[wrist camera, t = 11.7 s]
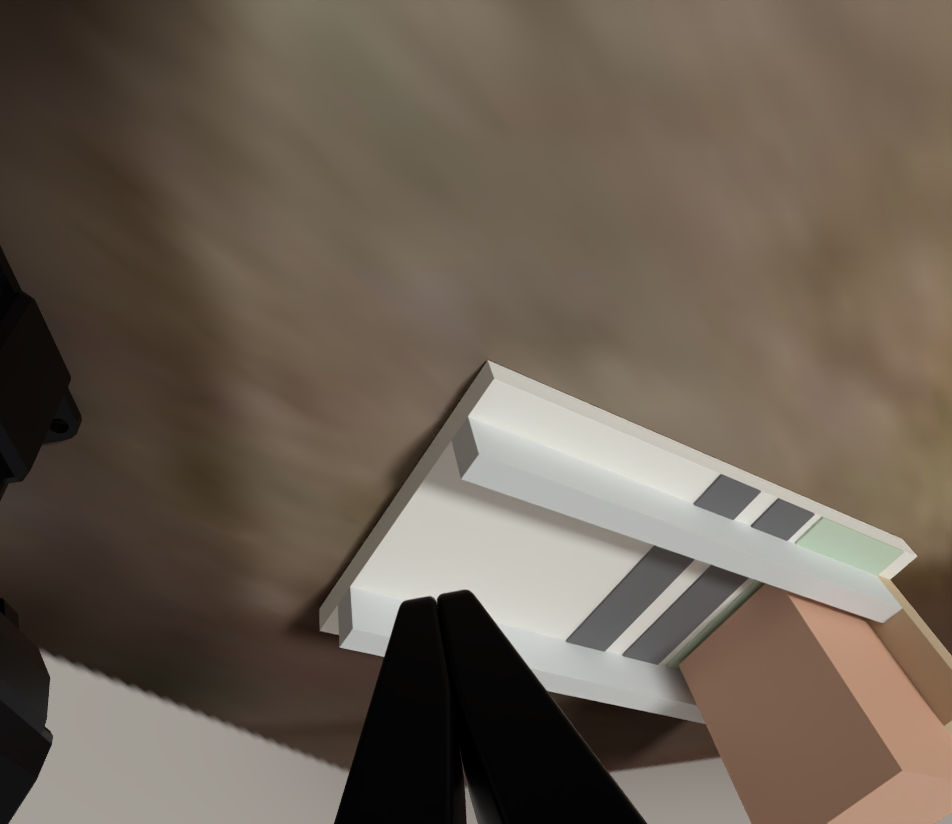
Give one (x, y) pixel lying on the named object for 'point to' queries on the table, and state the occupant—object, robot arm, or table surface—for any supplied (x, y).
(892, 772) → the slider block
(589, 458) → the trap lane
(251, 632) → the table surface
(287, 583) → the table surface
